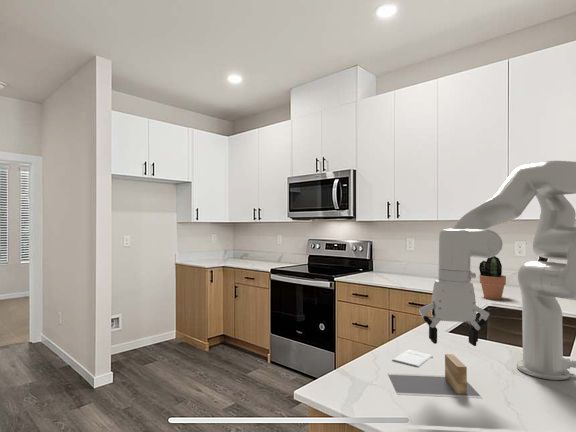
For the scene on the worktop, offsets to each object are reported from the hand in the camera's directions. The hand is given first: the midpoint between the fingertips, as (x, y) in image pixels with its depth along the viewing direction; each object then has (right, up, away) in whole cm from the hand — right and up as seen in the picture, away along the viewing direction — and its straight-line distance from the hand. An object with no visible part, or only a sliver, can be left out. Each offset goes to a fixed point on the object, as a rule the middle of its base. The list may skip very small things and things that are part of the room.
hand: (453, 343), depth 95 cm
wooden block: (+1, -11, 0) cm, 11 cm away
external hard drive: (-4, -13, +20) cm, 24 cm away
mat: (-5, -12, 0) cm, 13 cm away
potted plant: (+77, -15, +120) cm, 144 cm away
